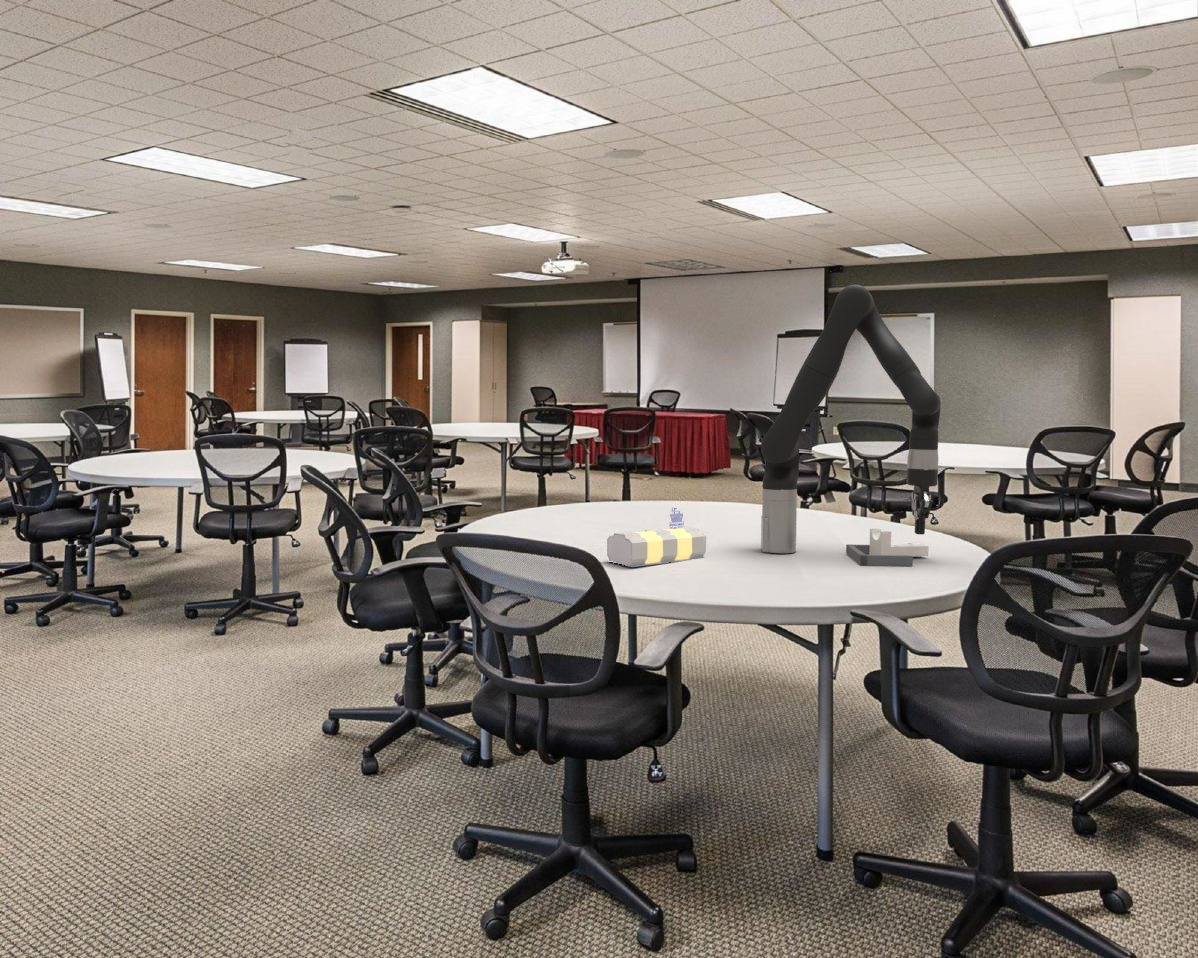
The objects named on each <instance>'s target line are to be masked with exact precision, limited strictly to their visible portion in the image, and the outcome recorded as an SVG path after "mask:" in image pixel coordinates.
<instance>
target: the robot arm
mask: <svg viewBox="0 0 1198 958" xmlns="http://www.w3.org/2000/svg"><path fill="white" fill-rule="evenodd" d="M856 330H857V331H858V332H859V334H860V335H861V336H862V337H863V338H864V340H865V341H866V343H868V345H869V347H870V349H871V350H872V352H873V353H874V355H875V357H876V359H877V360H878V362H879V363H880V365H881V367H882V369H883V370H884V371H885V373H886V374H887V376H888V377H889V379H890V380H891V381H892V383H893V384H894V385H895V386H896V387H897V389H898V390H899V392H900V394H901V395H902V397H903V399H904V400H905V402H906V403H907V405H908V407H909V408H910V409H911V412H912V413H911V428H910V430H909V431H910V432H909V440H908V443H909V444H908V453H907V458H906V459H907V462H906V463H907V464H906V482H905V483H906V485H908V486H912V487H913V491H912V492H911V495H910V497H909V500H910V505H911V512H912V517H913V518H914V533H915V534H916V535H922V536H923V535H925V534H926V533H925V531H926V521H927V519H929V516H930V513H931V509H932V505H933V499H932V493H931V492H930V487H937V485H938V481H939V479H938V477H939V476H938V475H939V423H940V416H941V404H942V403H941V402H942V401H941V398H940V396H939V394H938V393H937V392H935V390H934V389H933V388H932V387H931V386H930V384H929V383H928V381H927V380H926V379H925V377H924V376H923V375H922V372H921V371H920V369H919V367H918V366H917V364H916V362H914V360H913V359H912V357H911V356H910V355H909V353H908V352H907V351H906V350H905V348H904V346H902V344H901V343H900V342H899V341H898V340H897V338H896V337H895V335H894V334H893V333H892V332H891V330H890V329H889V327H888V326H887V324H885V322H884V319H883V318H882V316H881V314H880V312H879V310H878V307H877V306H876V304H875V301H874V297H873V296H872V294H871V292H870V291H869V290H868V289H867V288H866V287H865V286H862V285H860V284H850V285H847V286H845V287H844V288H842V289H841V290H840V291H839V293H838V294H837V296H836V297H835V300H834V302H833V305H832V308H831V310H830V313H829V316H828V317H827V321H826V322H825V325H824V328H823V329H822V331H821V333H820V335H818V338H817V339H816V341H815V342H814V345H812V348H811V349H810V351H809V353H808V355H807V356H806V358H805V360H804V361H803V363H802V365H801V368H800V369H799V372H798V373H797V375H796V377H795V379H794V382H793V384H792V386H791V388H790V389H789V392H788V395H787V397H786V399H785V402H784V405H783V406H782V407H781V410H780V412H779V414H778V416H776V418H775V420H774V422H773V423H772V425H771V426H770V428H769V429H768V431H767V432H766V433H765V435H764V436H763V438H762V440H761V444H760V451H761V454H762V457H763V459H765V461H764V475H763V477H762V493H761V494H762V496H761V497H762V500H761V501H762V503H761V505H762V506H761V507H762V509H761V510H762V511H761V514H762V515H761V520H760V521H761V522H760V523H761V524H760V530H761V531H760V532H761V533H760V550H761V552H762V553H772V554H792V553H796V552H797V519H798V518H797V506H798V505H797V504H798V500H797V499H798V498H797V497H798V496H797V495H798V479H799V473H800V472H799V471H800V470H799V469H800V468H799V467H800V443H799V438H800V435H801V434H802V431H803V429H804V427H805V425H806V423H807V421H808V420H809V419H810V417H811V416H812V415H813V414H814V412H815V411H816V409H818V407H819V406H820V405H821V403H822V401H824V399H825V398H826V396H827V394H828V393H829V391H830V389H831V388H832V385H833V383H834V382H835V379H836V378H837V376H838V373H839V371H840V369H841V365H842V362H843V359H844V356H845V352H846V350H847V346H848V343H849V341H850V339H851V337H852V336H853V334H854V333H855V331H856Z"/></svg>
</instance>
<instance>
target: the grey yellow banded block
mask: <svg viewBox="0 0 1198 958" xmlns="http://www.w3.org/2000/svg"><path fill="white" fill-rule="evenodd" d="M676 510H678V509H677V507H672V508H671V513H669V517H670V519H671V522H669V523H668V524H669V529H660V528H658V529H647V530H644V531H637V532H635V531H633V532H632V531H624V532H614V533H613V535H609V536H608V537H607V539H606V540H607V541H606V556H607V557H608V561H613V562H616V563H618V564H617V565H619V564H622V565H621V566H624V565H625V567H629V568H635V567H636V568H637V567H644V566H645V567H646V566H652V565H660V564H668V563H669V562H671V563H679V562H678V561H680V562H686V561H693V560H692V559H694V560H699V559H705V558H706V557H704V555H705V554H706V553H707V535H706V534H705V532H704V531H700V528H699V527H694V526H684V525H685V521H683V517H684V513H681V512H680V511H681V510H678V512H677V513H676ZM669 564H670V563H669Z"/></svg>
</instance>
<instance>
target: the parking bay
mask: <svg viewBox="0 0 1198 958" xmlns="http://www.w3.org/2000/svg"><path fill="white" fill-rule="evenodd" d="M845 547H846V549H845V553H847V554H846V555H847V556H849V558H851V559H852V560H854V561H855V562H856V563H857V564H858V565H860V566H861V567H862V566H863V567H913V566H914V563H913V561H914V557H913V556H909V555H869V550H870V544H846V546H845Z"/></svg>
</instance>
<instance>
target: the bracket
mask: <svg viewBox="0 0 1198 958" xmlns="http://www.w3.org/2000/svg"><path fill="white" fill-rule="evenodd" d="M881 530H882V529H881V528H869V545H870V550H869V555H909V556H913V558H921V557H929V545H925V544H921V543H918V542H892V531H890V530H888V531H887V530H885V531H883V530H882V531H881Z"/></svg>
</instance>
